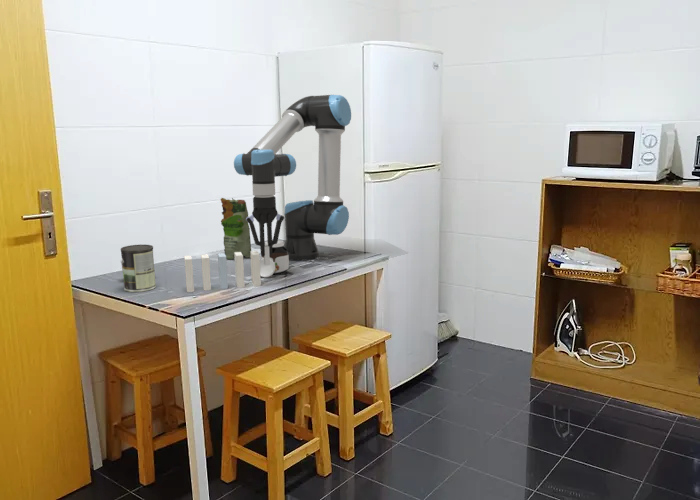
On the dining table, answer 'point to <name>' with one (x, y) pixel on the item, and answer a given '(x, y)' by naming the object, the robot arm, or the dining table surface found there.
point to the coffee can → (138, 268)
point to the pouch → (235, 228)
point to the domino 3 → (222, 271)
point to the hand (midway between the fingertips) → (267, 264)
